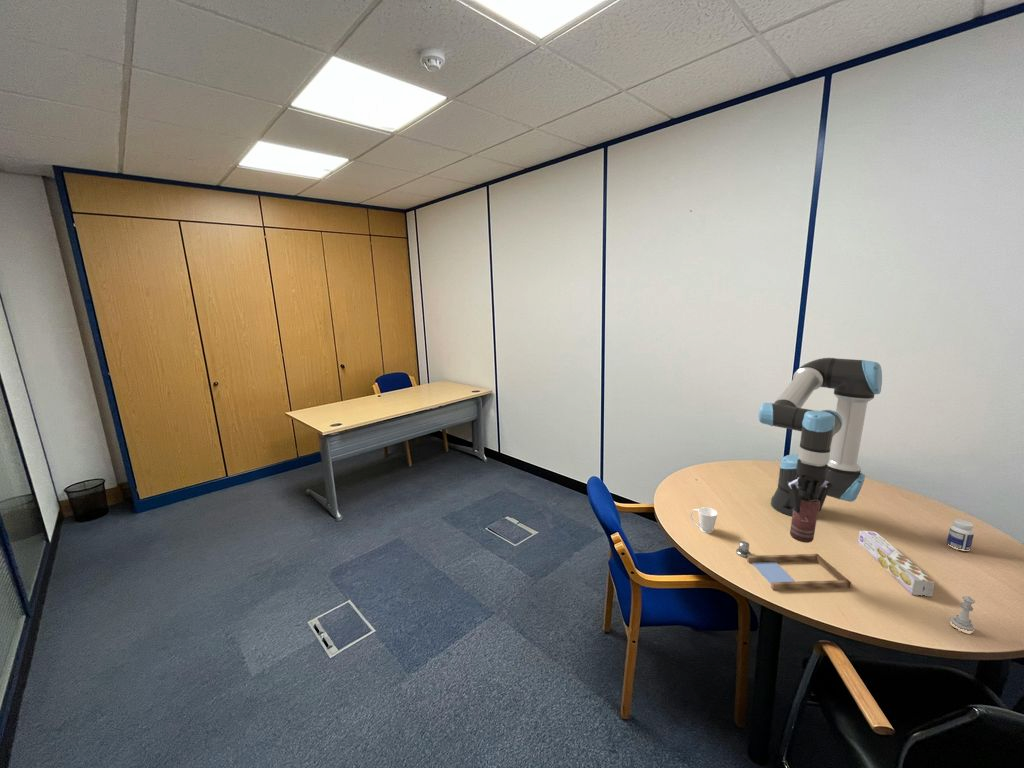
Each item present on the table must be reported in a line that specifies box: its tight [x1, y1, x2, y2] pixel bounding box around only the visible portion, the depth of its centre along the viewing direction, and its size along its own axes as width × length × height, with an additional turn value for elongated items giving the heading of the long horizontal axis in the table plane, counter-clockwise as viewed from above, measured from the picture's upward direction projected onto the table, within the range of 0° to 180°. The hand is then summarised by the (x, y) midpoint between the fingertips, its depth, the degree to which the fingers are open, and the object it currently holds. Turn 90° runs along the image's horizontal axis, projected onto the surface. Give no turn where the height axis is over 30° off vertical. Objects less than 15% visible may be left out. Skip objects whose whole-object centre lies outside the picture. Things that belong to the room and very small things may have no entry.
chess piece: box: [950, 595, 976, 631], centre depth 109 cm, size 4×4×10 cm
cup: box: [689, 506, 718, 534], centre depth 158 cm, size 7×10×8 cm
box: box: [857, 530, 936, 597], centre depth 133 cm, size 27×5×6 cm, turn 168°
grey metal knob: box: [735, 540, 752, 559], centre depth 142 cm, size 4×4×4 cm
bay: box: [746, 553, 852, 591], centre depth 132 cm, size 24×14×2 cm, turn 90°
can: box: [789, 498, 820, 544], centre depth 127 cm, size 6×6×14 cm
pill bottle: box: [946, 518, 975, 550], centre depth 142 cm, size 6×6×10 cm
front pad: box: [751, 562, 796, 585], centre depth 132 cm, size 8×11×1 cm
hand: (802, 530), depth 128 cm, fingers closed
